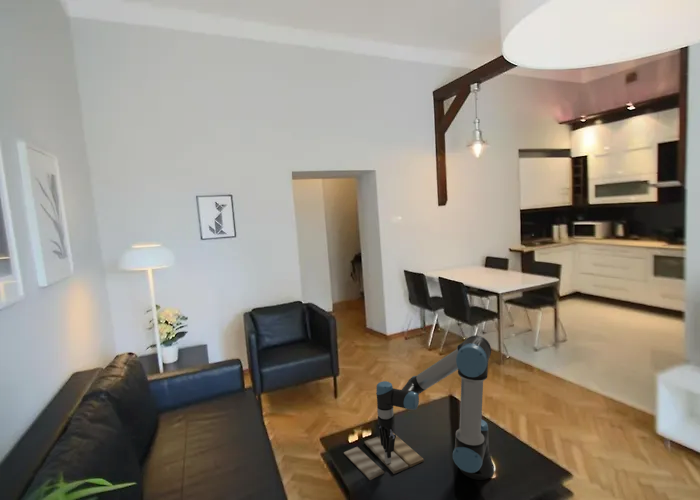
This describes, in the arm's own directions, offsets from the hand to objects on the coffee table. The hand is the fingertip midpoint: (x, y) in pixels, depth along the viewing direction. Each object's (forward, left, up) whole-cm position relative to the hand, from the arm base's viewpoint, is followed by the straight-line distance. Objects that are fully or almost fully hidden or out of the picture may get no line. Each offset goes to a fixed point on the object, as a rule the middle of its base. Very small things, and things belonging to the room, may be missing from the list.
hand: (388, 462), depth 178 cm
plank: (+9, +9, -2) cm, 13 cm away
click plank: (+8, -3, -2) cm, 8 cm away
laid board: (+8, -12, -2) cm, 14 cm away
